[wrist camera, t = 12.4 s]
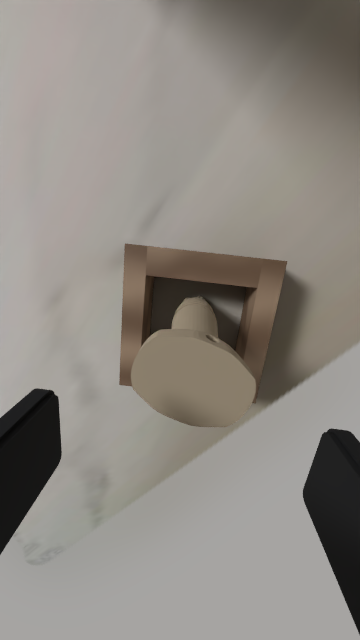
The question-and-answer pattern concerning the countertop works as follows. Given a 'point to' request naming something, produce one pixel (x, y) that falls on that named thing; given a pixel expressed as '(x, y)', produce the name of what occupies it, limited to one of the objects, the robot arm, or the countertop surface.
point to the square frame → (204, 267)
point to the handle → (193, 370)
